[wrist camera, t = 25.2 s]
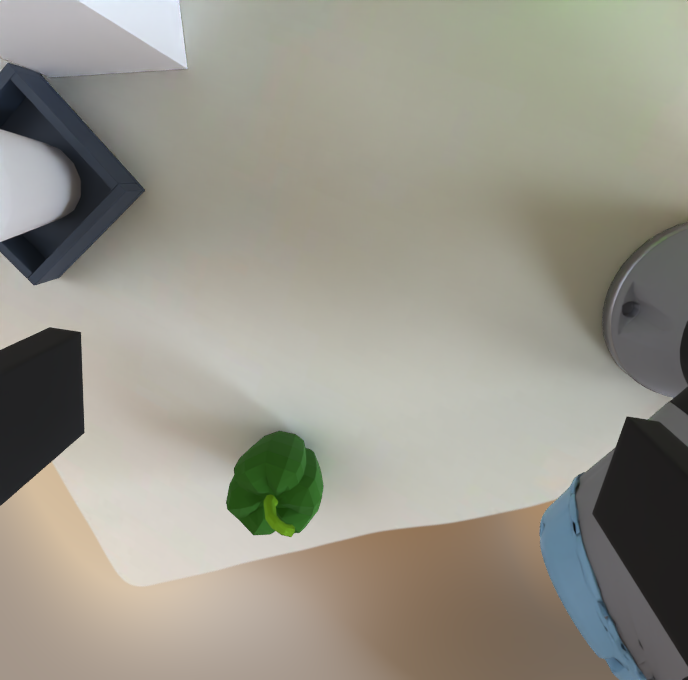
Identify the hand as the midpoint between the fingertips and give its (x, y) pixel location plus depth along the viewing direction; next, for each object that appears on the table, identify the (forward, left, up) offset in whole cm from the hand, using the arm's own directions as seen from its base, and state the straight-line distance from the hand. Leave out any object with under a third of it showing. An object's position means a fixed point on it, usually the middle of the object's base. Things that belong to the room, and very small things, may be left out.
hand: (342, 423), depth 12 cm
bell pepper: (-11, +20, -33) cm, 40 cm away
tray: (+22, +18, -33) cm, 43 cm away
